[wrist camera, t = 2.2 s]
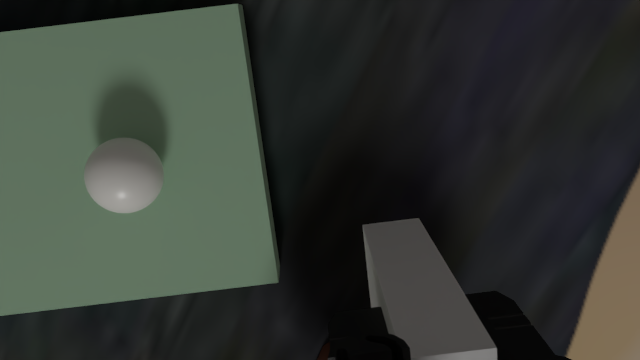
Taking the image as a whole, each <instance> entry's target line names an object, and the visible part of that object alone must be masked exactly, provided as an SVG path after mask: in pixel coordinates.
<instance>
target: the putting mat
mask: <svg viewBox="0 0 640 360" xmlns="http://www.w3.org/2000/svg"><path fill="white" fill-rule="evenodd" d="M123 137H124V138H133V139H137V140H140V141H142V142H144V143H145V144H147V145H148V146H150V147H151V148H152V149H153V150H154V151H155V152H156V154H157V155H158V156H159V158H160V160H161V162H162V165H163V169H164V181H163V186H162V189H161V191H160V193H159V195H158V196H157V198H156V199H155V200H154V201H153V202H152V203H151V204H150V205H149V206H147V207H146V208H144V209H142V210H139V211H136V212H133V213H116V212H112V211H109V210H106V209H104V208H103V207H101V206H100V205H98V204H97V203H96V202H95V201H94V200H93V199H92V197H91V196H90V194H89V193H88V191H87V189H86V185H85V181H84V170H85V165H86V162H87V160H88V158H89V156H90V155H91V153H92V152H93V151H94V150H95V149H96V148H97V147H98V146H99V145H101V144H102V143H104V142H106V141H108V140H111V139H115V138H123ZM279 271H280V262H279V256H278V249H277V242H276V235H275V228H274V221H273V214H272V207H271V200H270V193H269V186H268V179H267V172H266V166H265V159H264V152H263V145H262V138H261V131H260V124H259V117H258V110H257V103H256V96H255V89H254V82H253V75H252V69H251V62H250V55H249V48H248V41H247V34H246V27H245V20H244V13H243V6H242V5H241V4H230V5H222V6H213V7H205V8H197V9H189V10H180V11H172V12H164V13H155V14H147V15H139V16H131V17H122V18H114V19H106V20H97V21H89V22H81V23H73V24H64V25H56V26H48V27H39V28H31V29H23V30H15V31H6V32H0V316H3V315H11V314H19V313H28V312H36V311H45V310H53V309H61V308H70V307H78V306H86V305H95V304H103V303H111V302H120V301H128V300H136V299H145V298H153V297H161V296H170V295H178V294H187V293H195V292H203V291H212V290H220V289H228V288H237V287H245V286H253V285H262V284H270V283H278V282H279Z"/></svg>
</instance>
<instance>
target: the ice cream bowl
mask: <svg viewBox="0 0 640 360" xmlns="http://www.w3.org/2000/svg"><path fill="white" fill-rule="evenodd" d="M329 351H330V342H328V343H327V344H325V345H323V347H322V349H321V352H320V354H319V356H318V358H317V360H328V355H329Z"/></svg>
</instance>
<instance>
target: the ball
mask: <svg viewBox="0 0 640 360" xmlns="http://www.w3.org/2000/svg"><path fill="white" fill-rule="evenodd" d="M84 181H85V185H86V189H87V191H88V193H89V194H90V196H91V197H92V199H93V200H94V201H95V202H96V203H97V204H98V205H100V206H101V207H103V208H104V209H106V210H109V211H112V212H116V213H133V212H136V211H139V210H142V209H144V208H146V207H147V206H149V205H150V204H151V203H152V202H153V201H154V200H155V199H156V198H157V196H158V195H159V193H160V191H161V189H162V186H163V181H164V169H163V165H162V162H161V160H160V158H159V156H158V155H157V154H156V152H155V151H154V150H153V149H152V148H151V147H150V146H148V145H147V144H145V143H144V142H142V141H140V140H137V139H133V138H124V137H123V138H115V139H111V140H108V141H106V142H104V143H102V144H101V145H99V146H98V147H97V148H96V149H95V150H94V151H93V152H92V153H91V155H90V156H89V158H88V160H87V162H86V165H85V170H84Z"/></svg>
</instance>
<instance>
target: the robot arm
mask: <svg viewBox="0 0 640 360" xmlns="http://www.w3.org/2000/svg"><path fill="white" fill-rule="evenodd" d="M362 226H363V236H364V245H365V255H366V264H367V274H368V283H369V293H370V302H371V308H364V309H356V310H348V311H340V312H336V313H335V315H334V316H333V318H332V319H331V321H330V322H329V324H328V331H329V342H330V351H329V355H328V360H571V359H569V358H566V357H562V356H557V355H555V354H554V353H553V351H552V350H551V349H550V347H549V346H548V345H547V343H546V342H545V341H544V340H543V338H542V337H541V336H540V334H539V333H538V332H537V330H536V329H535V328H534V326H533V325H532V326H531V323H530V321H529V320H528V319H527V317H526V316H525V315H523V312H522V311H521V310H520V308H519V307H518V306H517V304H516V303H515V302H514V300H512V299H510V298H508V297H506V296H505V295H503V294H501V293H499V292H497V291H491V292H482V293H474V294H466V295H465V294H464V292H463V291H462V289H461V287H460V286H459V284H458V282H457V281H456V279H455V277H454V276H453V274H452V272H451V271H450V269H449V268H448V266H447V264H446V263H445V261H444V259H443V258H442V256H441V254H440V253H439V251H438V249H437V248H436V246H435V244H434V243H433V241H432V239H431V238H430V236H429V234H428V233H427V231H426V229H425V228H424V226H423V224H422V223H421V221H420V219H419V218H414V219H406V220H398V221H390V222H381V223H373V224H365V225H362Z"/></svg>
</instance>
